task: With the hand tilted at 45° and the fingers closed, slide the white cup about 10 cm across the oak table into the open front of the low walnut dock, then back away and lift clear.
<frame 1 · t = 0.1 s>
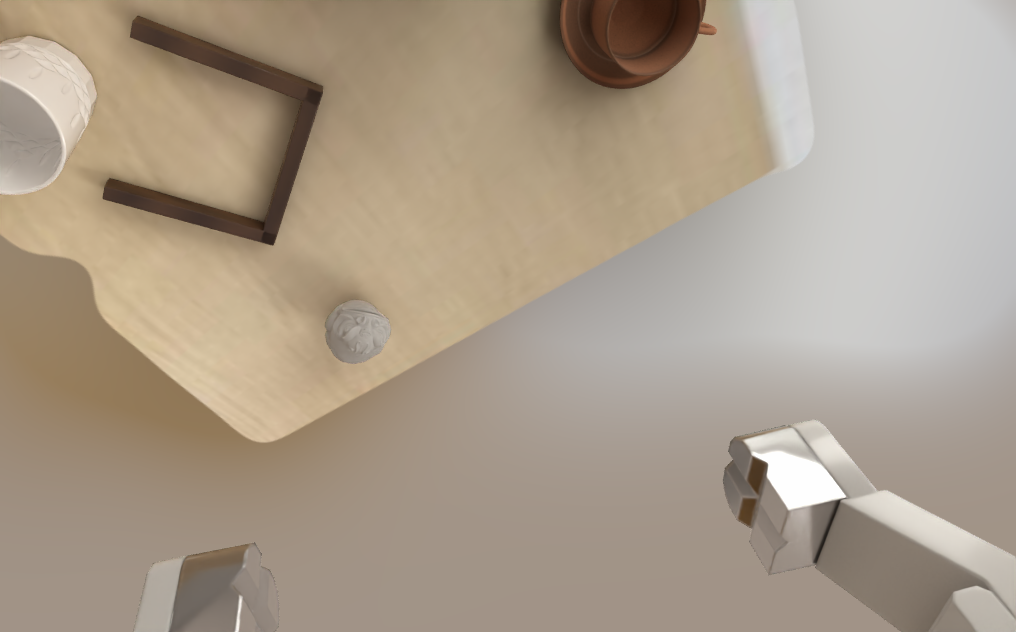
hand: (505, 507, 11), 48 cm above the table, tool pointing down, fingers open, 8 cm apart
cup and saucer: (624, 5, 54), on the table
sculpted head: (356, 307, 66), on the table
dock: (205, 136, 53), on the table
white cup: (45, 82, 49), on the table
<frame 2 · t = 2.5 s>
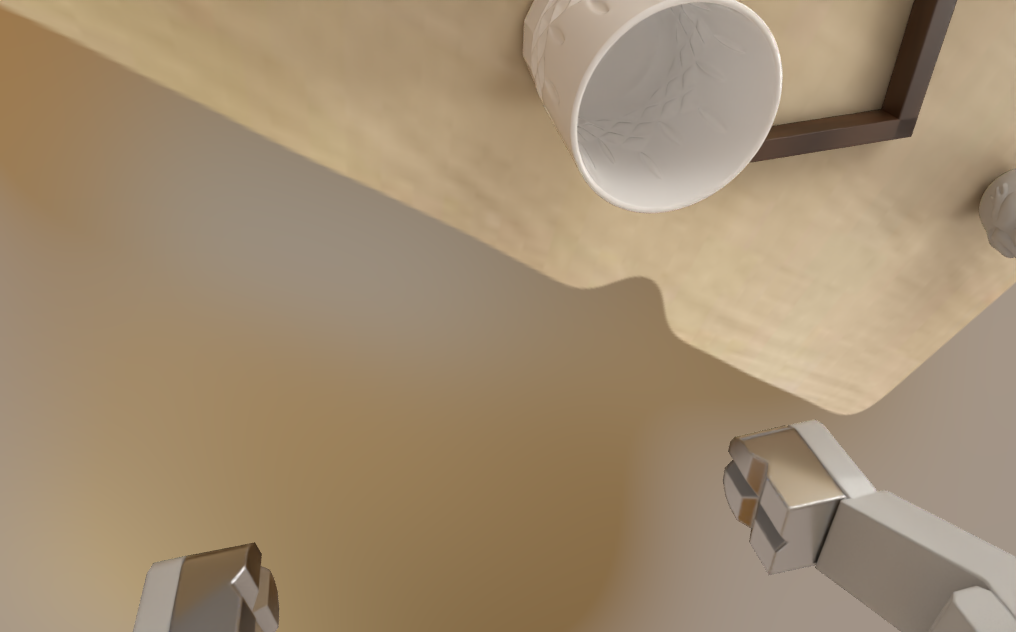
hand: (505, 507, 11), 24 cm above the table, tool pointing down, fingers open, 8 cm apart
sculpted head: (996, 182, 43), on the table
dock: (806, 7, 33), on the table
white cup: (589, 33, 32), on the table
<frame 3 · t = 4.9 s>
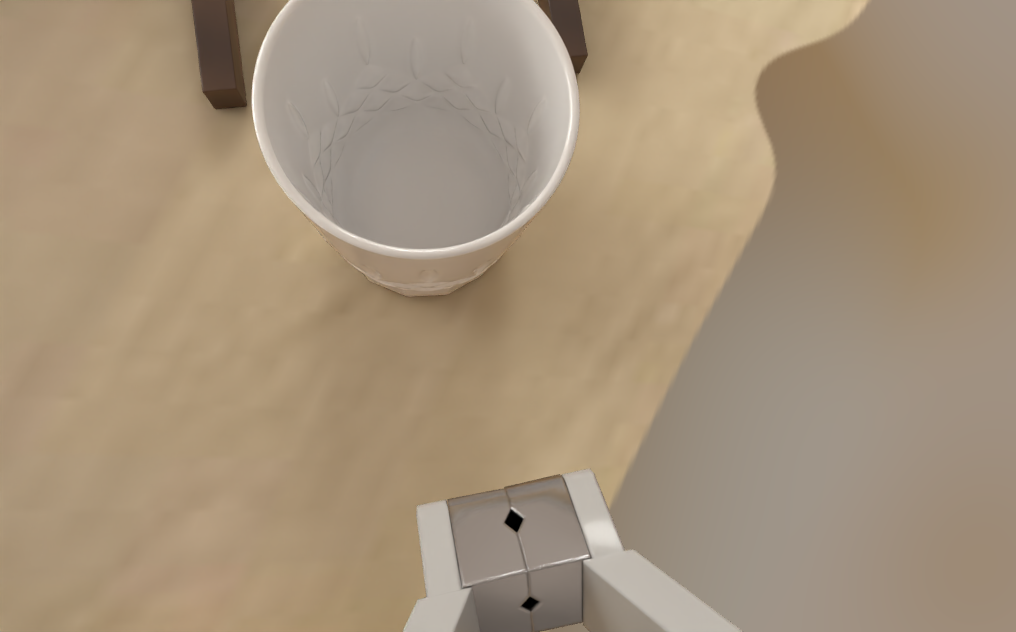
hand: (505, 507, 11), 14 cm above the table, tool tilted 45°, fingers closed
white cup: (422, 213, 26), on the table
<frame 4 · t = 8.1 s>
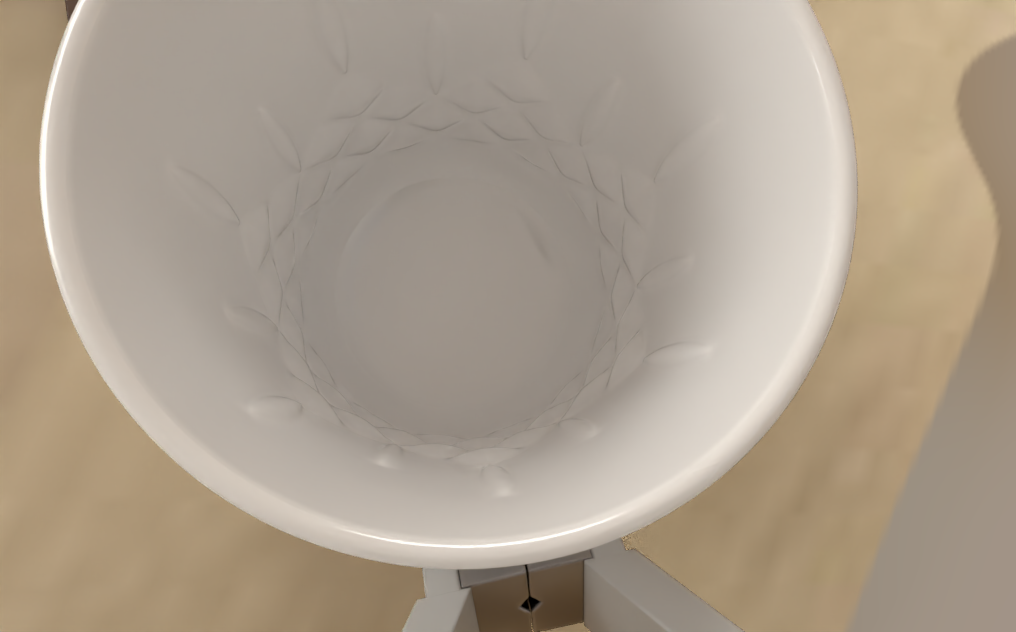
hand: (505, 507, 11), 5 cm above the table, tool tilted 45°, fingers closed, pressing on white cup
white cup: (452, 306, 16), on the table, touching gripper
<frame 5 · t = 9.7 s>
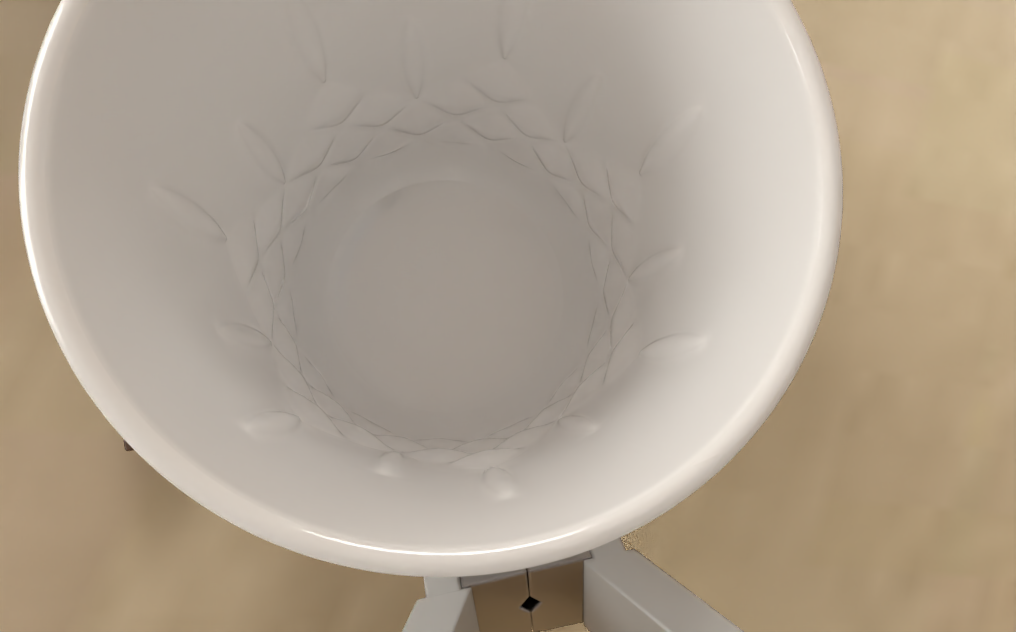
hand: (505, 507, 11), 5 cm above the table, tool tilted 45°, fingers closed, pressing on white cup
white cup: (446, 309, 16), on the table, touching gripper
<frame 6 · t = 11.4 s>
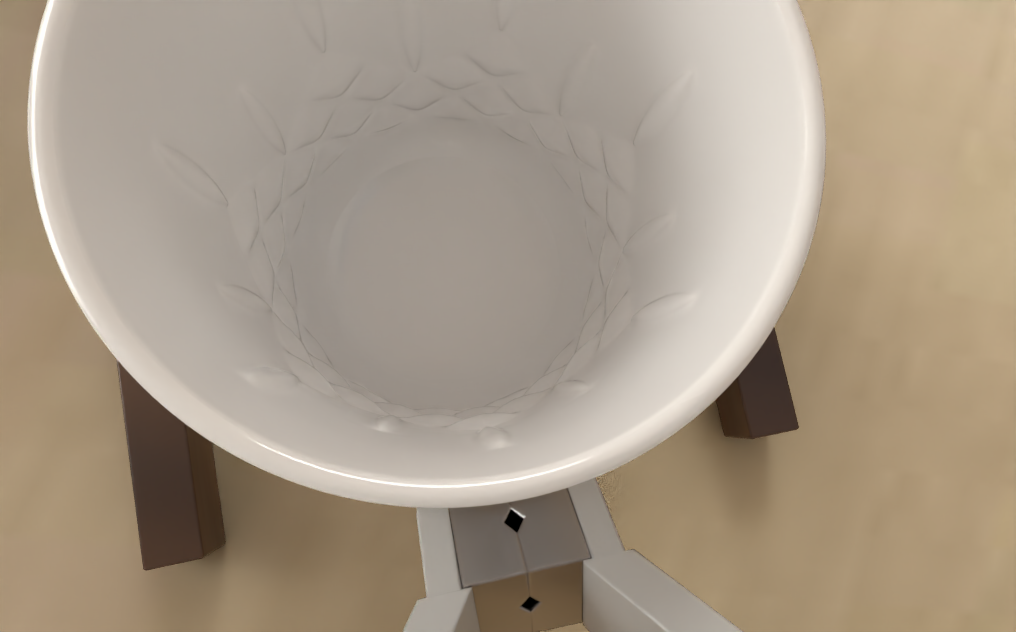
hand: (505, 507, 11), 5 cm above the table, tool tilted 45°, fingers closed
dock: (441, 244, 17), on the table
white cup: (444, 286, 17), on the table
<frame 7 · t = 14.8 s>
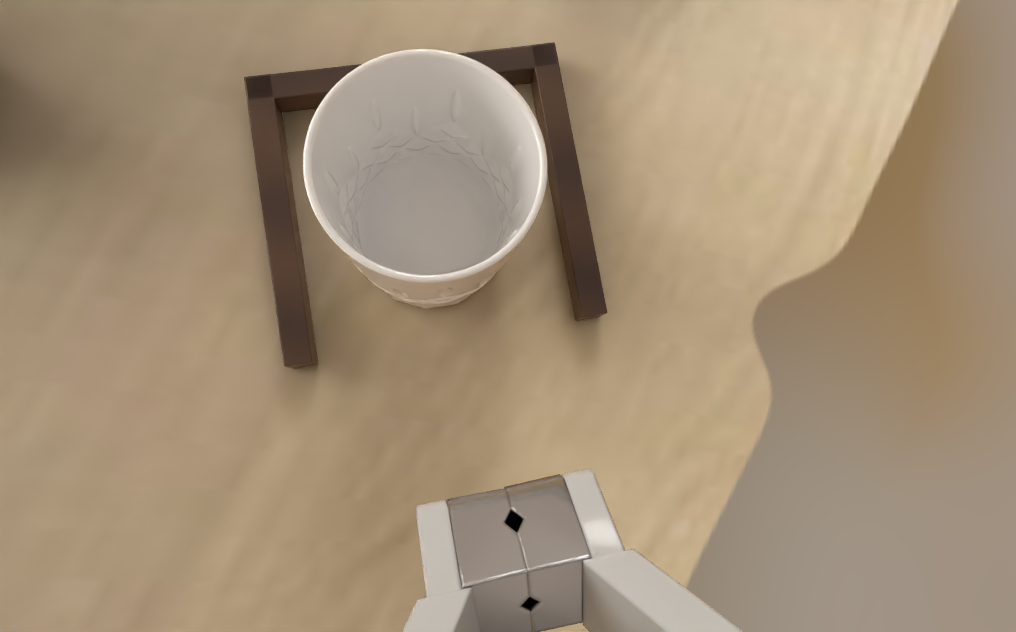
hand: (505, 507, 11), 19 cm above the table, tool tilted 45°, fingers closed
dock: (429, 217, 32), on the table
white cup: (430, 239, 32), on the table
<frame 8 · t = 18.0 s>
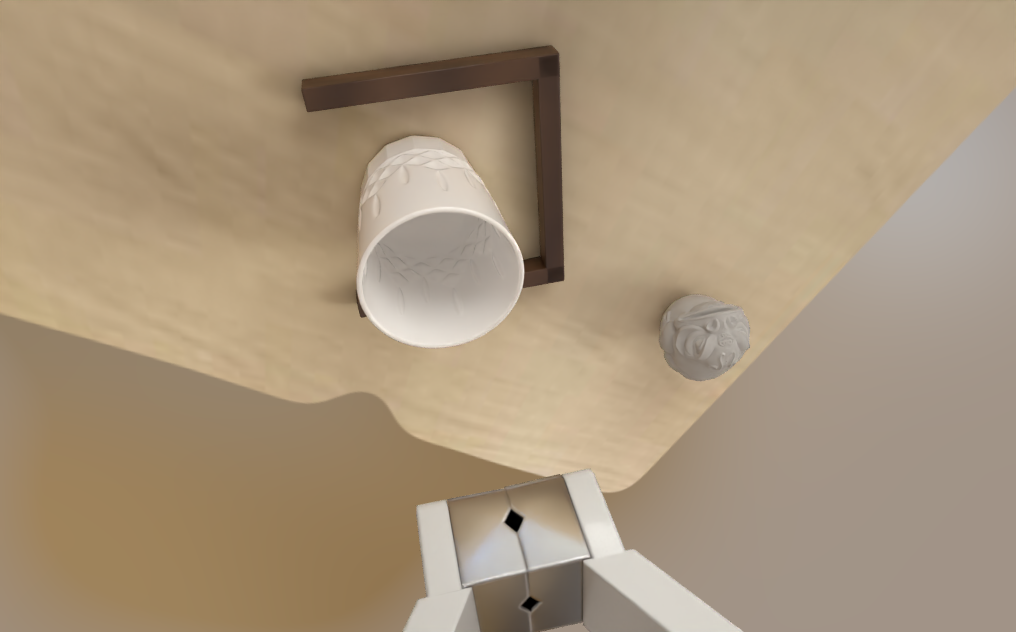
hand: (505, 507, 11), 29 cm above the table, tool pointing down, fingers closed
sculpted head: (680, 304, 49), on the table
dock: (437, 188, 39), on the table
white cup: (419, 187, 39), on the table
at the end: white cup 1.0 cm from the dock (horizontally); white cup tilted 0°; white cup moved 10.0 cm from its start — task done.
